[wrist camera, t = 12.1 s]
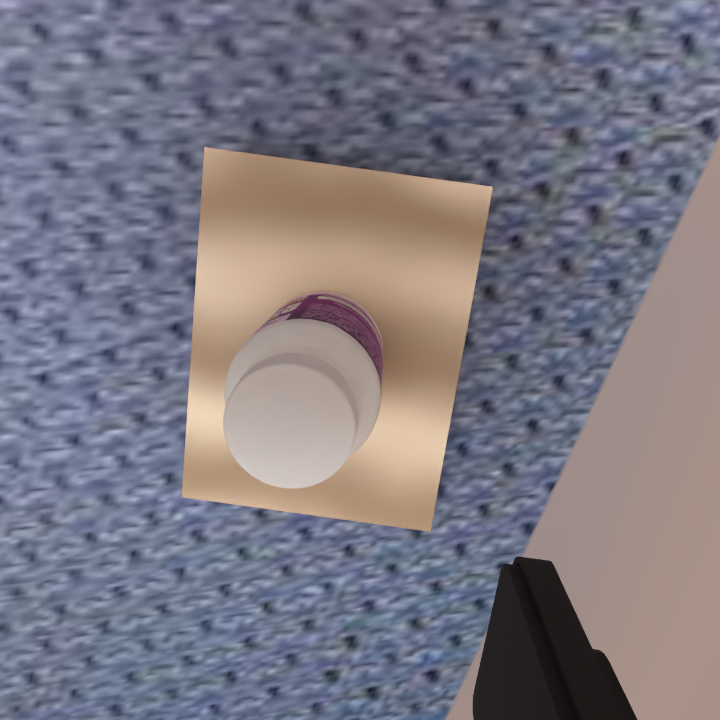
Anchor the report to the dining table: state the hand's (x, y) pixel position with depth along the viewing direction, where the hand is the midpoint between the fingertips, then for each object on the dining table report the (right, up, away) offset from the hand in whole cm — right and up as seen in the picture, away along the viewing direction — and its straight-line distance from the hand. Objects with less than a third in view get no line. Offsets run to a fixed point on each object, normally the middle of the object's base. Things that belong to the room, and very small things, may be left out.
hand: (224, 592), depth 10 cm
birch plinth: (+1, +5, +21) cm, 22 cm away
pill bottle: (+1, +4, +17) cm, 18 cm away
